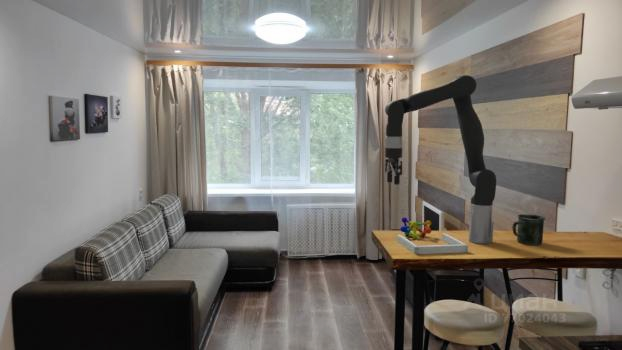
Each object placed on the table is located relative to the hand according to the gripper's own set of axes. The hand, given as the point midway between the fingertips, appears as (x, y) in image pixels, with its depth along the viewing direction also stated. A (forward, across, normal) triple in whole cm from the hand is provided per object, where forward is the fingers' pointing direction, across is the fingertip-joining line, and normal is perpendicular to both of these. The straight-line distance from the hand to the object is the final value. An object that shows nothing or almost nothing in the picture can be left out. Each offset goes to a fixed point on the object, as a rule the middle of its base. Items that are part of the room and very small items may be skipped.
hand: (393, 183), depth 194 cm
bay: (+27, -10, -13) cm, 32 cm away
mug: (+28, -12, -59) cm, 67 cm away
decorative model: (+27, +6, -14) cm, 31 cm away
